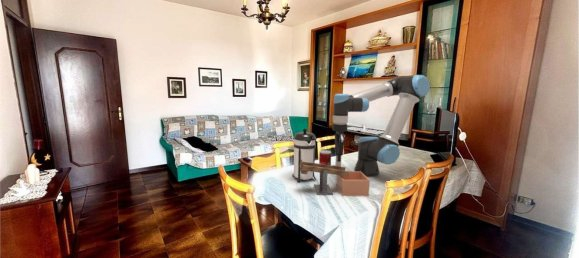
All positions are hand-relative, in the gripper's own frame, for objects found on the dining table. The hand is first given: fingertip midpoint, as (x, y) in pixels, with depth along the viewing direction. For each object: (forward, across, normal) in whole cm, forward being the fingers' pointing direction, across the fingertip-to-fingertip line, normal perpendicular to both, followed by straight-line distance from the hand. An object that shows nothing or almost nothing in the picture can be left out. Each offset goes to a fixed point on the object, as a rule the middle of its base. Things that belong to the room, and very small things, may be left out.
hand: (338, 166), depth 129 cm
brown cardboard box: (+11, +6, +6) cm, 14 cm away
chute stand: (+11, +6, -9) cm, 15 cm away
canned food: (+11, -32, -1) cm, 33 cm away
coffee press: (+11, -12, -18) cm, 24 cm away
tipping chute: (+2, +3, -9) cm, 10 cm away
